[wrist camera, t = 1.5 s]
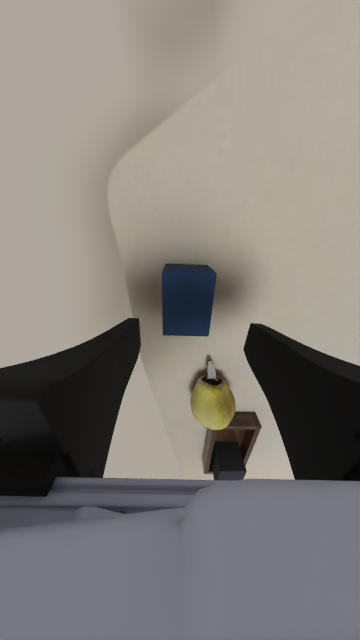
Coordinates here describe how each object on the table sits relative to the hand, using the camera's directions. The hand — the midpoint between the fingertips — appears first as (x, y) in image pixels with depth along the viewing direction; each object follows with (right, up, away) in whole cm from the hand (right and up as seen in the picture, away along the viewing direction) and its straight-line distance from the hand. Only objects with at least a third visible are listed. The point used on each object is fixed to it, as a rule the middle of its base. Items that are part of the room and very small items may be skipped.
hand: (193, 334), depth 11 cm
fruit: (+3, -8, +14) cm, 16 cm away
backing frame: (+8, -21, +20) cm, 30 cm away
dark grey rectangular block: (+8, -25, +21) cm, 33 cm away
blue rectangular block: (0, +4, +8) cm, 9 cm away
